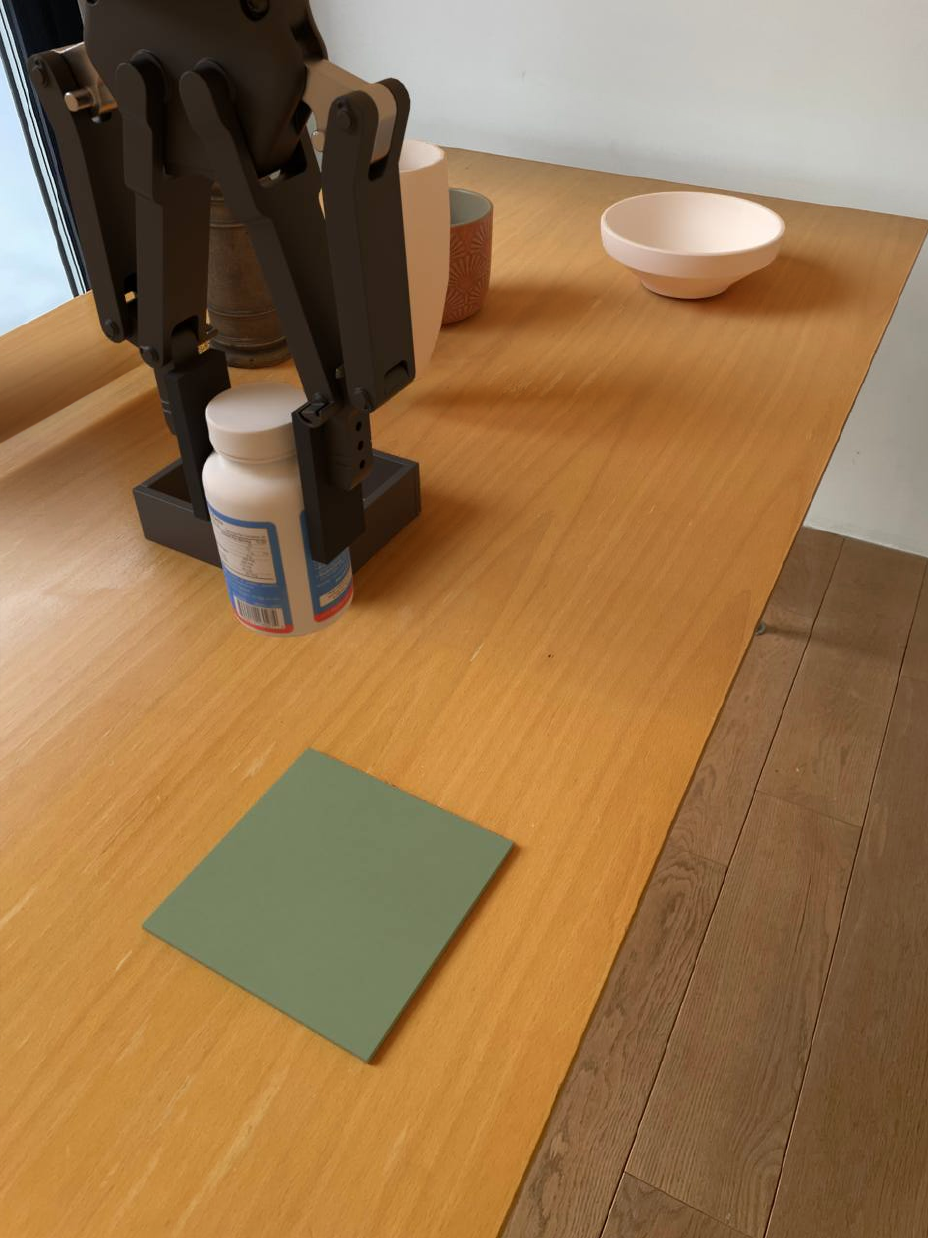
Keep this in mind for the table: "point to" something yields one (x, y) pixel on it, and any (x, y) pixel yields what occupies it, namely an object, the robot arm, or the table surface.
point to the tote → (176, 527)
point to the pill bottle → (267, 515)
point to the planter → (468, 254)
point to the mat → (332, 899)
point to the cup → (425, 241)
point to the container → (240, 294)
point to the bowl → (691, 240)
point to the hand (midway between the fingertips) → (279, 522)
